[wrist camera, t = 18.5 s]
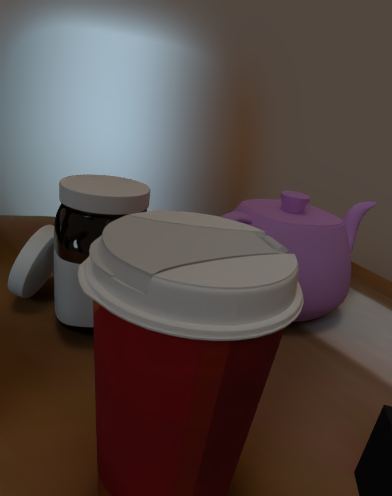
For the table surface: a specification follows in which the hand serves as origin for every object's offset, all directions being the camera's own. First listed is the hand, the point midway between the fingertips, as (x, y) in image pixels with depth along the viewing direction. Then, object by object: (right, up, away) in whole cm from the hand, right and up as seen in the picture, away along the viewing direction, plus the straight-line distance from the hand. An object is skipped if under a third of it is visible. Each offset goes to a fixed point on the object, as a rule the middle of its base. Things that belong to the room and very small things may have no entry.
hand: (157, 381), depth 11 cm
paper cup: (-1, -9, +6) cm, 11 cm away
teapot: (+10, -1, +28) cm, 30 cm away
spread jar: (-9, -1, +21) cm, 23 cm away
